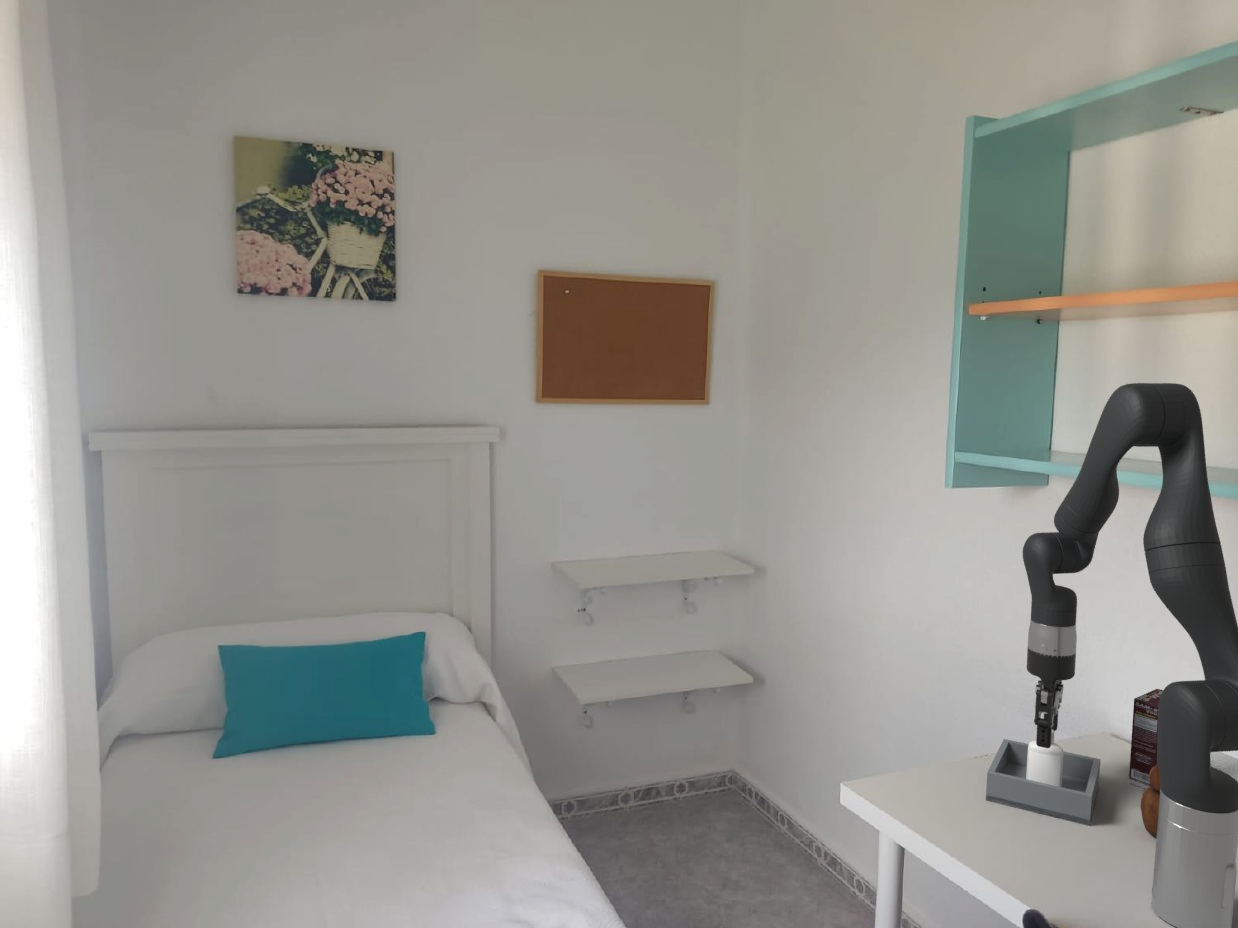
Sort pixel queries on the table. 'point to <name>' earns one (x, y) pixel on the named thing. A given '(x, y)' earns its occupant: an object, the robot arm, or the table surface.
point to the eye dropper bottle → (1045, 763)
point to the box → (1042, 798)
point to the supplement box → (1144, 738)
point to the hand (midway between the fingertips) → (1046, 737)
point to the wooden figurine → (1151, 802)
